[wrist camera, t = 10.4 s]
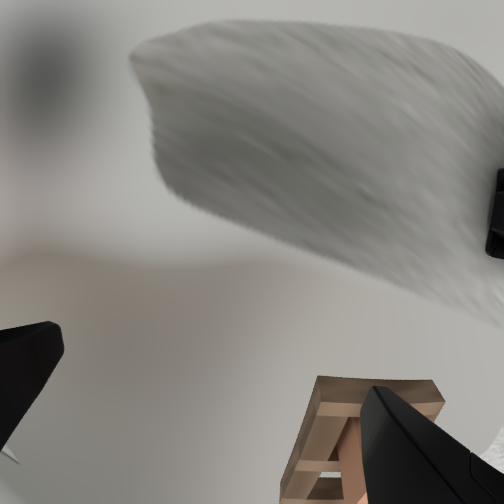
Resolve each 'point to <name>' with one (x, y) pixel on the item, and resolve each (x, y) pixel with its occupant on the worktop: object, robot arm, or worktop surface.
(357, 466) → the tan rectangular block
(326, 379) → the socket block
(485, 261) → the worktop surface
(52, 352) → the robot arm
